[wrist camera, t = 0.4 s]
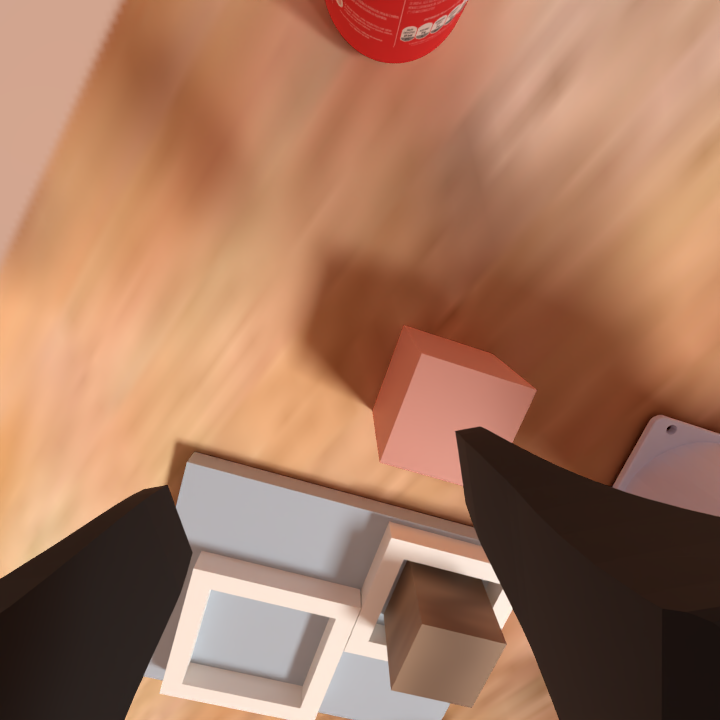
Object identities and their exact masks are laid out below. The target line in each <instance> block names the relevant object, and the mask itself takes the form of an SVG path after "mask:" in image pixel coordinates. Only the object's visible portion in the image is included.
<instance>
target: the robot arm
mask: <svg viewBox="0 0 720 720" xmlns="http://www.w3.org/2000/svg"><path fill="white" fill-rule="evenodd" d="M669 426H671V428H670V429H669V430H668V431H666V430H667V428H668V427H669ZM455 434H456V440H457V447H458V454H459V461H460V467H461V474H462V481H463V488H464V495H465V501H466V505H467V508H468V511H469V514H470V517H471V520H472V523H473V526H474V528H475V531H476V534H477V537H478V539H479V542H480V544H481V546H482V548H483V550H484V552H485V554H486V556H487V558H488V560H489V562H490V564H491V566H492V568H493V570H494V572H495V574H496V576H497V578H498V580H499V582H500V584H501V586H502V588H503V590H504V592H505V594H506V596H507V598H508V600H509V602H510V604H511V606H512V608H513V610H514V612H515V614H516V616H517V618H518V620H519V622H520V624H521V626H522V628H523V631H524V633H525V635H526V637H527V640H528V642H529V644H530V646H531V649H532V651H533V653H534V656H535V658H536V661H537V663H538V666H539V669H540V671H541V674H542V676H543V679H544V681H545V684H546V686H547V689H548V692H549V694H550V697H551V699H552V702H553V704H554V707H555V710H556V712H557V715H558V718H559V720H720V434H719V433H716V432H713V431H710V430H707V429H704V428H701V427H698V426H694V425H691V424H688V423H685V422H682V421H679V420H676V419H673V418H670V417H667V416H663V415H657V416H654V417H653V418H651V420H650V421H649V422H648V424H647V426H646V428H645V430H644V431H643V433H642V435H641V437H640V438H639V440H638V442H637V444H636V446H635V447H634V449H633V451H632V453H631V454H630V456H629V458H628V460H627V462H626V463H625V465H624V467H623V469H622V470H621V472H620V474H619V476H618V478H617V479H616V481H615V483H614V485H613V486H612V487H610V486H607V485H604V484H601V483H598V482H595V481H593V480H590V479H588V478H585V477H582V476H580V475H578V474H575V473H573V472H571V471H568V470H566V469H564V468H561V467H559V466H557V465H555V464H552V463H550V462H548V461H546V460H544V459H542V458H540V457H538V456H536V455H534V454H532V453H530V452H528V451H526V450H524V449H522V448H520V447H518V446H516V445H515V444H513V443H511V442H509V441H507V440H505V439H504V438H502V437H500V436H498V435H496V434H494V433H493V432H491V431H489V430H487V429H485V428H483V427H481V426H479V427H474V428H468V429H463V430H458V431H455ZM192 553H193V552H192V549H191V547H190V544H189V541H188V539H187V536H186V533H185V531H184V528H183V525H182V523H181V520H180V517H179V515H178V512H177V509H176V506H175V504H174V501H173V498H172V496H171V493H170V490H169V488H168V485H165V486H159V487H154V488H149V489H144V490H142V491H140V492H138V493H136V494H134V495H132V496H130V497H128V498H127V499H125V500H123V501H122V502H120V503H118V504H117V505H115V506H113V507H112V508H110V509H109V510H107V511H106V512H104V513H103V514H101V515H99V516H98V517H96V518H95V519H93V520H92V521H90V522H89V523H87V524H86V525H84V526H83V527H81V528H80V529H78V530H77V531H75V532H74V533H72V534H71V535H69V536H68V537H66V538H64V539H63V540H61V541H60V542H58V543H57V544H55V545H54V546H52V547H50V548H49V549H47V550H46V551H44V552H43V553H41V554H39V555H38V556H36V557H35V558H33V559H31V560H30V561H28V562H27V563H25V564H23V565H22V566H20V567H19V568H17V569H15V570H14V571H12V572H11V573H9V574H8V575H6V576H4V577H3V578H1V579H0V720H125V717H126V715H127V712H128V710H129V708H130V705H131V703H132V700H133V698H134V696H135V693H136V691H137V689H138V687H139V685H140V682H141V680H142V678H143V676H144V674H145V671H146V669H147V667H148V665H149V663H150V660H151V658H152V656H153V654H154V652H155V650H156V647H157V645H158V643H159V641H160V639H161V636H162V634H163V632H164V630H165V628H166V625H167V623H168V621H169V619H170V616H171V614H172V612H173V610H174V607H175V605H176V603H177V601H178V598H179V596H180V594H181V591H182V588H183V584H184V581H185V578H186V575H187V572H188V568H189V564H190V561H191V557H192Z"/></svg>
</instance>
